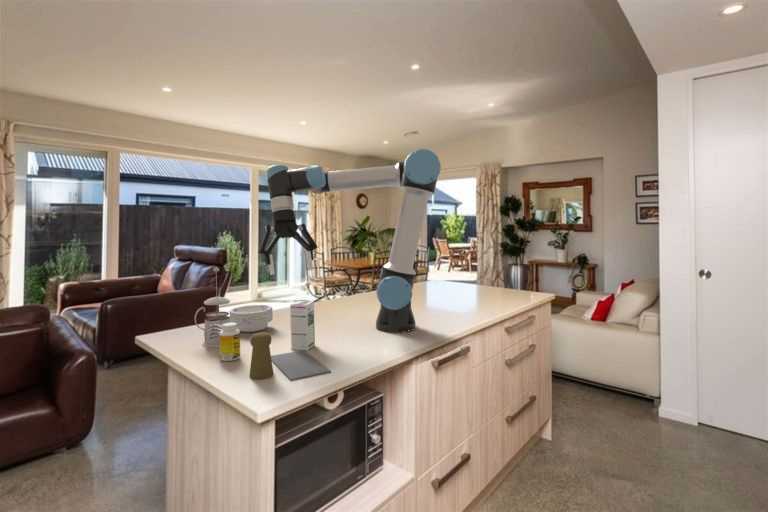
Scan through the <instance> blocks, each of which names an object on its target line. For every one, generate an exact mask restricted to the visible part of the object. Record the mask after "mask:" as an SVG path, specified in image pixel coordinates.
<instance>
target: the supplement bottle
mask: <svg viewBox="0 0 768 512" xmlns="http://www.w3.org/2000/svg"><path fill="white" fill-rule="evenodd" d="M221 327H222V329H221V331H220V333H219V341H220V347H219V359H220V361H223V362H234V361H236V360H238V359H240V357H241V331H239V330H238V329H237V323H232V322H231V323H225V324H222V325H221Z"/></svg>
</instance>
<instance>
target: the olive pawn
mask: <svg viewBox="0 0 768 512" xmlns="http://www.w3.org/2000/svg"><path fill="white" fill-rule="evenodd" d="M249 342H250V345H251V346H252V351H251V359H250V361H251V362H250V370H249V378H250V379H252V380H258V381H260V380H266V379H270V378H272V377H273V376H274V375H275V373H274V368H273V362H272V360H271V356H272V354H271V347H270V345H271V343H272V335H271V333H268V332H266V331H265V332H264V331H263V332H262V331H261V332H260V331H259V332H255V333H254V334H252V335H251V336H250V341H249Z"/></svg>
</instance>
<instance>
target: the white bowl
mask: <svg viewBox="0 0 768 512" xmlns="http://www.w3.org/2000/svg"><path fill="white" fill-rule="evenodd" d="M228 313H229V314H228V315H229V317H230V323H231V322H232V323H237V329H238V330H239V331H240V333H242V332H243V333H254V332H255V333H256V332H260V331H263V330H265V329H266V328H267V327H268V324H269V323H271V322H272V321H273V319H274V316H273V315H274V314H273V307H272V306H271V305H269V304H268V305H266V304H251V305H249V304H248V305H242V306H237V307H233V308H231V309H230V310H229V312H228Z"/></svg>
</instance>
